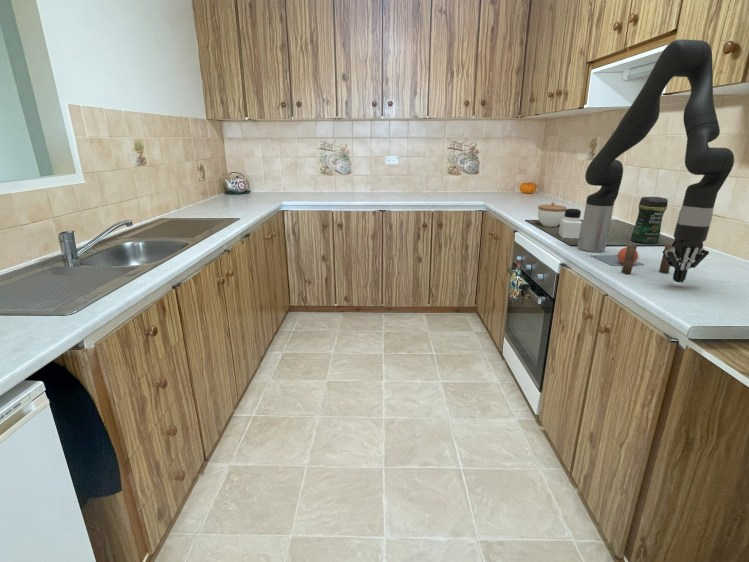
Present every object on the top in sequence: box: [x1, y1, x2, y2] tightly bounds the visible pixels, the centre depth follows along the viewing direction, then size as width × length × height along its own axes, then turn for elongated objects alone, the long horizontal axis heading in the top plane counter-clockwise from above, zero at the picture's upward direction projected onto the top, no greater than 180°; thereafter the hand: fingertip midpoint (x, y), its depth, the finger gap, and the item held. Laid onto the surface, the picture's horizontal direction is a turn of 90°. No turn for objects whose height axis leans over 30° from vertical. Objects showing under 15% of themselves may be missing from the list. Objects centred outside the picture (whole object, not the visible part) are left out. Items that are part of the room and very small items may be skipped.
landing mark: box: [590, 254, 645, 267], centre depth 150 cm, size 12×12×1 cm
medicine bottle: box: [558, 208, 583, 240], centre depth 182 cm, size 7×7×12 cm
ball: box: [617, 246, 639, 263], centre depth 144 cm, size 6×6×6 cm
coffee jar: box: [630, 196, 669, 244], centre depth 174 cm, size 10×8×19 cm
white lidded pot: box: [537, 201, 568, 228], centre depth 205 cm, size 13×13×11 cm
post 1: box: [621, 244, 638, 275], centre depth 134 cm, size 3×3×9 cm
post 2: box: [658, 243, 673, 274], centre depth 136 cm, size 3×3×9 cm
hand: (678, 281), depth 124 cm, fingers closed
